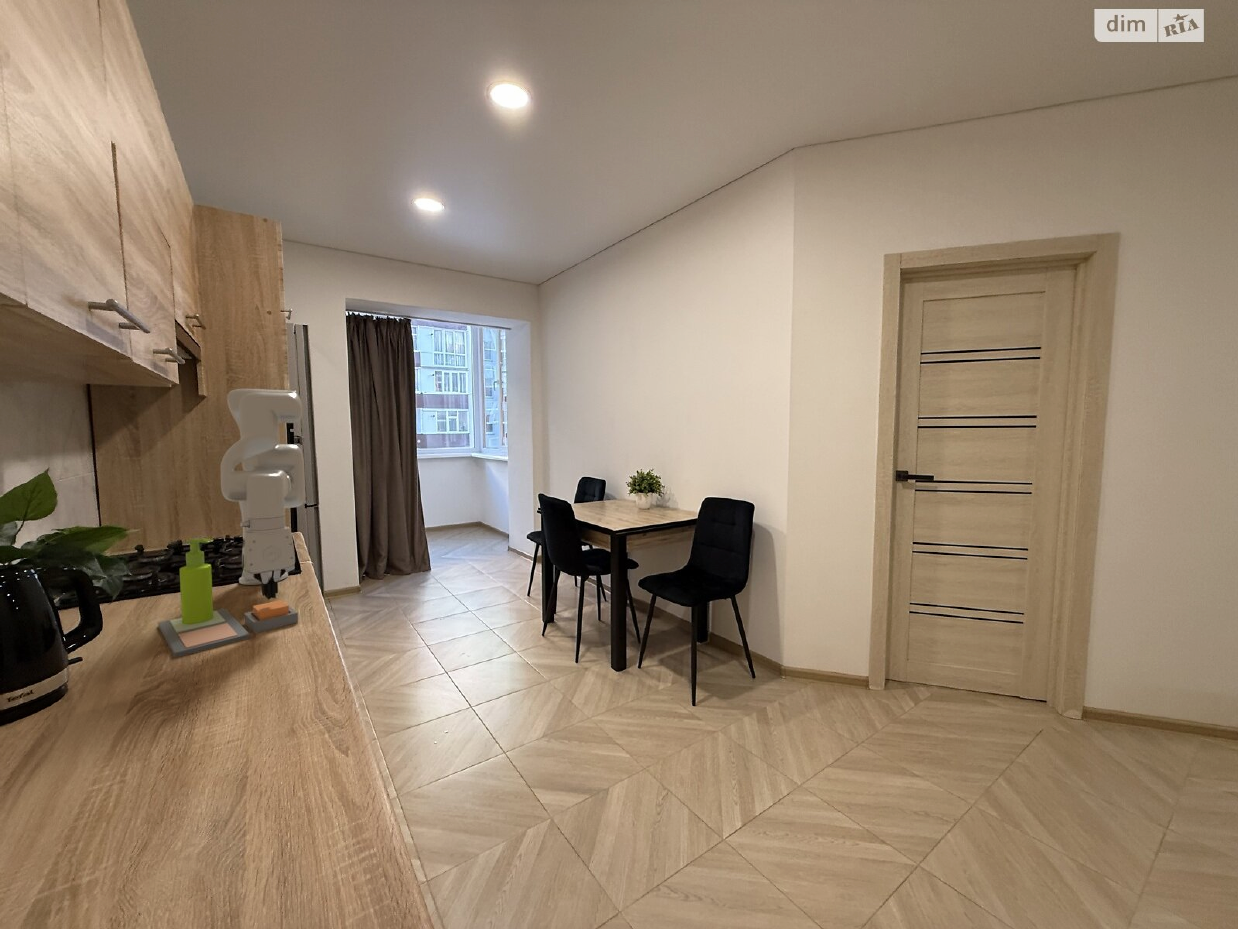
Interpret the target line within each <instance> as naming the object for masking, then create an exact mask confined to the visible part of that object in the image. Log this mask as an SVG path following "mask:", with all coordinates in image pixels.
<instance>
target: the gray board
mask: <svg viewBox="0 0 1238 929" xmlns="http://www.w3.org/2000/svg"><path fill="white" fill-rule="evenodd" d="M157 626H158V629H159V631H160V633H161V634H162V636H163V638H164V639H165V641H166V644H167V646H169V649H170V651H171V653H172V655H173V656H174V658H178V657H179V658H180V657H183V656H185V655H186V656H187V655H189V654H190V655H191V654H194V653H198V652H202V651H205V650H209V649H214V648H218V647H221V646H226V645H229V644H233V643H238V642H241V641H245V640H249V639H250V637H251V636H250V633H249V632H248V631H247V630H246V629H245V628H244V627H243V625H241V623H240V622H239V621H238V620H237V619H236V618H235V617H234V616H233V615H232V614H231V613H230V612H229V611H228V610H227V608H220V609H215V610H214V609H213V618H212V619H210V620H207V621H204V622H200V623H194V624H184V623H182V616H181V617H178V618H172V619H168V620H164V621H159V622H157Z"/></svg>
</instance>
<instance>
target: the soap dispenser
mask: <svg viewBox="0 0 1238 929" xmlns="http://www.w3.org/2000/svg"><path fill="white" fill-rule="evenodd" d="M213 541H214V539H212V538H211V539H210V538H208V537H207V538H206V537H196V538H195V537H193V538H188V539H186V540H185V543H189V547H190V548H189V550H190V551H188V552H186V553H185V564H186V565H185V566H182V567H180V568H179V583H180V584H179V586H180V588H179V590H180V608H181V617H182V623H184V624H194V623H200V622H204V621H207V620H210V619H212V618H213V611H214V604H213V603H214V602H213V600H214V599H213V598H214V597H213V581H212V580H213V577H212V576H213V575H212V564H211V563H205V551H203V550H201V549H200V543H203V544H209V543H213Z"/></svg>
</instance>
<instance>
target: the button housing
mask: <svg viewBox="0 0 1238 929" xmlns="http://www.w3.org/2000/svg"><path fill="white" fill-rule="evenodd" d="M287 605H288V606H289V613H288V614H284V615H280V616H276V617H272V618H267V619H263V620H259V619H258V618H257V617H256V616H255V615H254V614H253V610H252V611H249V612H244V613H243V614H244V618H243V619H244V624H245V625H246V626H247V627H248V629H250V630H251V632H253V633H254V634H257V633H262V632H266V631H269V630H273V629H277V628H281V627H286V626H289V625H293V624H296V623H299V612H298V611H297V610H295V609H294V608H292V607H291V606H290V605H289V604H287Z"/></svg>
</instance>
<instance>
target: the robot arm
mask: <svg viewBox="0 0 1238 929" xmlns="http://www.w3.org/2000/svg"><path fill="white" fill-rule="evenodd" d="M226 401H227V402H226V403H227V406H228V409H229V411H230V414H231V415H232V417H233V419H234V421H235V423H236V424H237V427H238V429H239V434H240V439H239V440H237V441H236V442H235V443H234V444H232V446H230V447H229V448H228V449H227V450H226V452H225V454H224V455H223V456H222V460H221V462H220V489H221V493H222V496H223V497H224V499H226V500H227V501H229V502H230V501H231V502H238V505H239V509H240V513H241V521H240V524H239V525H240V528H242V540H243V542H242V553H241V565H242V574H241V577H239V578H238V581H239V584H241V585H245V586H257V585H261V594H262V597H265V598H266V599H267V600H271V599H276V598H277V594H279V584H278V582H280V581H282V580H285V579H287V578H288V576H289V572H291V571H293V570H295V568H296V567H295V563H296V556H295V555H296V554H295V553H296V552H295V548H294V547H295V546H294V540H293V535H292V531H291V528H290V527H289V526H286V509H291V508H298V507H301V506H302V505H303V504H304V503H305V501H306V500H305V499H306V482H305V478H306V477H305V463H304V461H305V460H304V455H303V451H302V449H301V447H299V446H298V445H296V444H291V443H289V444H288V443H284V444H283V443H282V444H281V443H280V442H281V438H280V437H281V436H280V429H279V427H280V426H279V424H285V423H286V424H296V423H299V422H301V420H302V417H303V410H304V409H303V403H302V400H301V398H300V396H299V395H298V394H297V392H295V391H294V390H287V389H286V390H283V389H266V388H265V389H263V388H237V389H233V390H230V391H229V392H228V393H227V396H226ZM240 463H241V466H242V469H243V470H236V471H235V468H236V467H237V466H238V465H239V464H240Z"/></svg>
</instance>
